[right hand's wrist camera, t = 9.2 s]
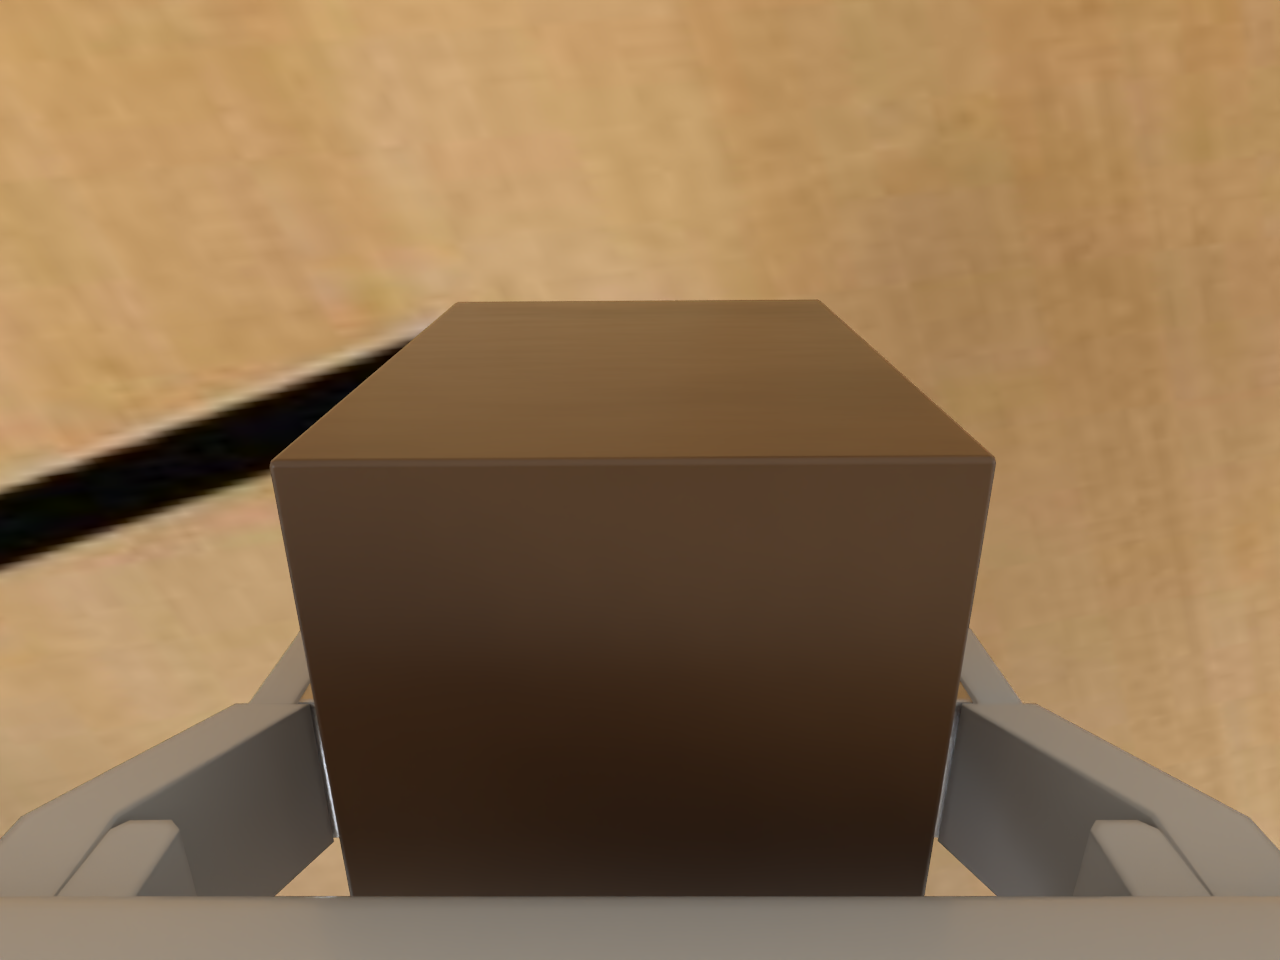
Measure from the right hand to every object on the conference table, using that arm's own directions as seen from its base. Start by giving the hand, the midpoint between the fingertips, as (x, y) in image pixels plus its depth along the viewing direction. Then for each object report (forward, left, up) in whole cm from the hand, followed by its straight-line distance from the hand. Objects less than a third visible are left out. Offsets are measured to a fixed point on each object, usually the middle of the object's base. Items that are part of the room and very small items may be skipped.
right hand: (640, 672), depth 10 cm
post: (+24, -27, -3) cm, 36 cm away
